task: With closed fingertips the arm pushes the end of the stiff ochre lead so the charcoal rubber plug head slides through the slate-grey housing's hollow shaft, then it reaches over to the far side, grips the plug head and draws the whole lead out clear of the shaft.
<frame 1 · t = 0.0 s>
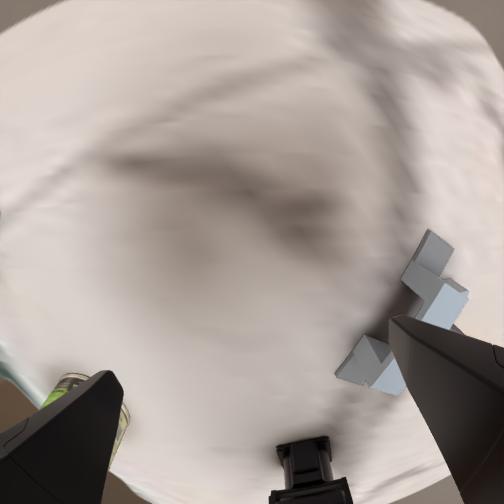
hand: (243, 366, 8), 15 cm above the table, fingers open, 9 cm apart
housing: (395, 314, 24), on the table
coffee can: (94, 403, 28), on the table
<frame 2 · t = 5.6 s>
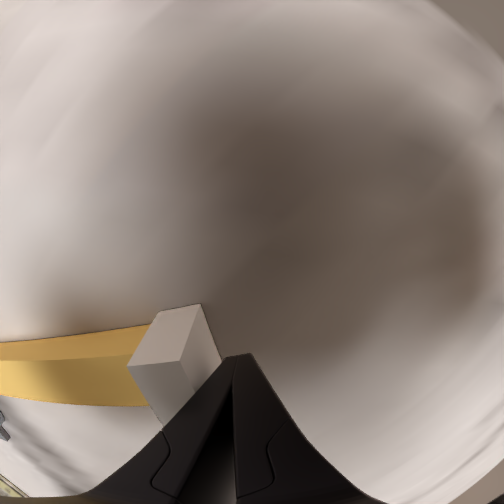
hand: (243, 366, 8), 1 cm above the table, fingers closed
coffee can: (11, 485, 21), on the table
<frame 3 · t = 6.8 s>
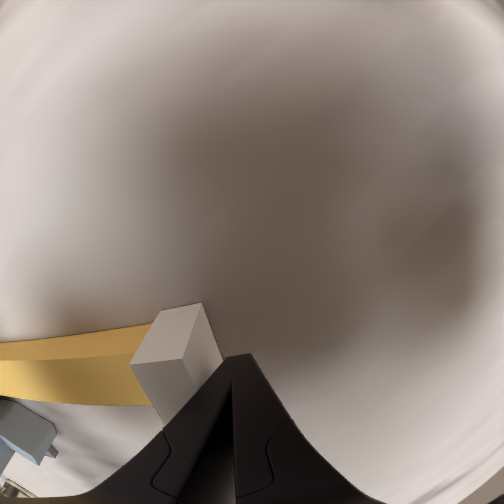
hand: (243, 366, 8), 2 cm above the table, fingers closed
coffee can: (33, 498, 20), on the table
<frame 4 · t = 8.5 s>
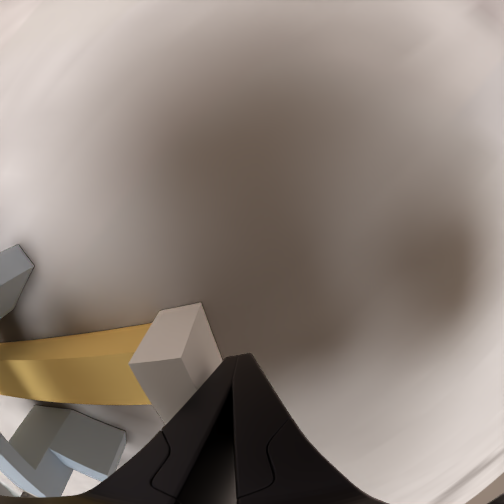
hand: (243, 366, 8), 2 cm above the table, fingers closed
housing: (23, 364, 10), on the table
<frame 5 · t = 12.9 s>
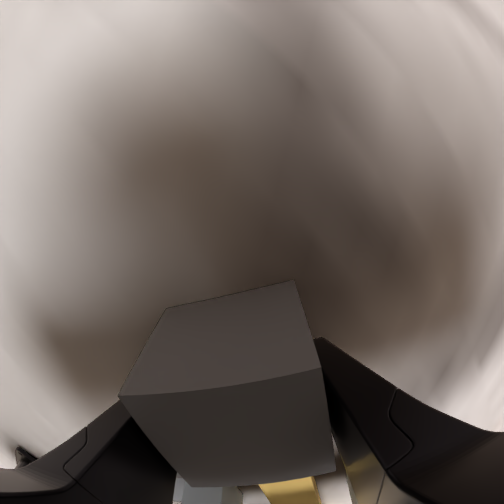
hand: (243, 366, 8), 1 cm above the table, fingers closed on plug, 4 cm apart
housing: (289, 476, 12), on the table
plug: (245, 349, 9), on the table, touching gripper
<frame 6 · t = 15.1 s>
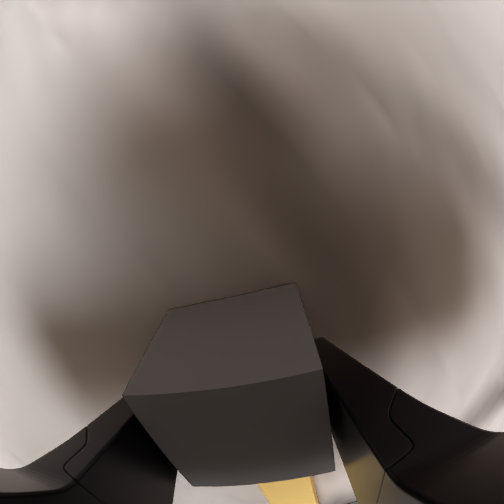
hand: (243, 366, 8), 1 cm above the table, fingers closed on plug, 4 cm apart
plug: (246, 350, 9), on the table, touching gripper
when the fingers open (1 cm above the table, at t = 17.0 s): plug stays where it is, on the table.
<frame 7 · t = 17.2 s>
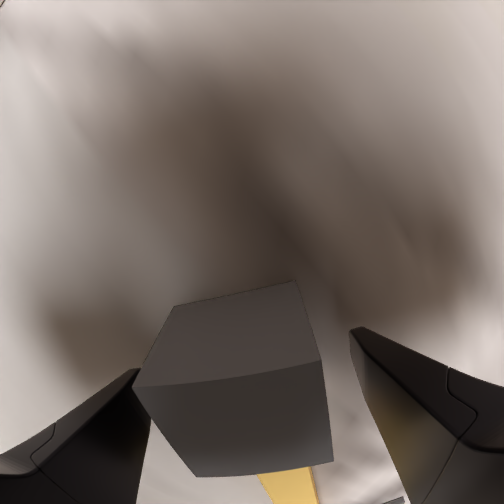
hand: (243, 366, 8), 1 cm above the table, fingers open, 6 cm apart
plug: (248, 345, 10), on the table
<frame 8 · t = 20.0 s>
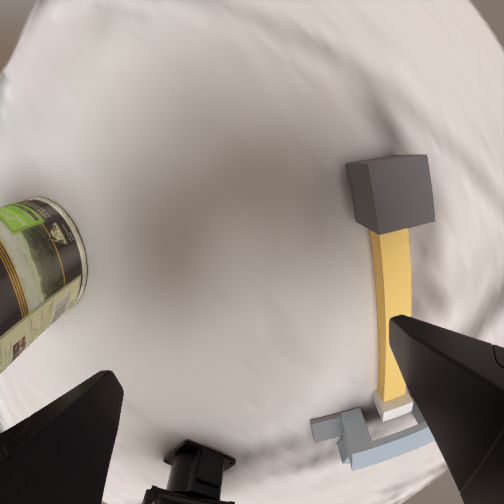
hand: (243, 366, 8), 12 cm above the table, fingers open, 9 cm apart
housing: (386, 408, 24), on the table
coffee can: (43, 256, 20), on the table
plug: (377, 187, 18), on the table
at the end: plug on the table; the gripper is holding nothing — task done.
